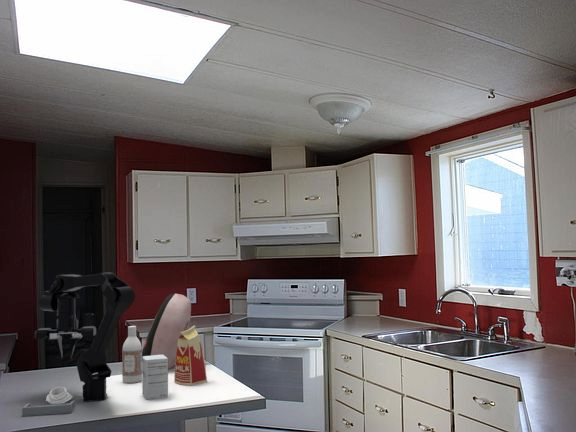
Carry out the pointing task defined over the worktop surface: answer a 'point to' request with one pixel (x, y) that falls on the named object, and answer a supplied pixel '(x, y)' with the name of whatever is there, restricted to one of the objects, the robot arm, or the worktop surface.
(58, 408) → the tray
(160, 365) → the supplement box
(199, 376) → the milk carton
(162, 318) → the beige tall rounded piece
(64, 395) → the whipped cream
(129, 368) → the bath foam
